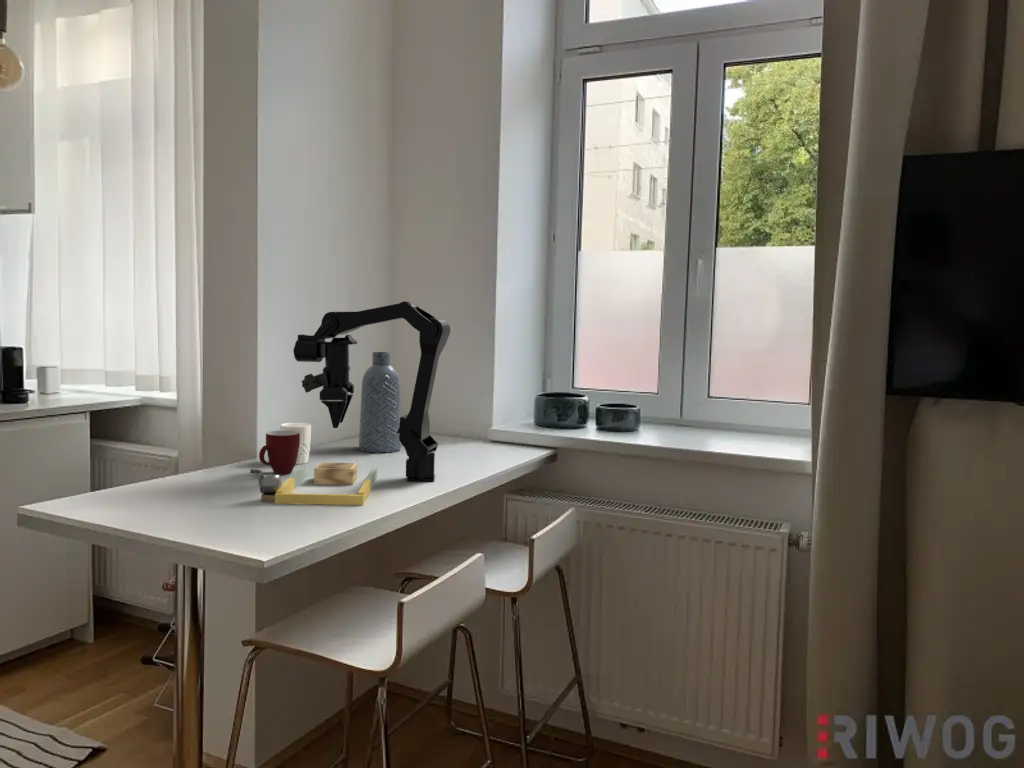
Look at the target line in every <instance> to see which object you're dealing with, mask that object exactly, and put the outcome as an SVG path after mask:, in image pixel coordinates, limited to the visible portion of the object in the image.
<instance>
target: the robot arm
mask: <svg viewBox="0 0 1024 768" xmlns="http://www.w3.org/2000/svg"><path fill="white" fill-rule="evenodd" d="M401 319H402V320H403V319H404V320H405V321H406V322H407V323H408V324H409V325H410V326H411V327H412V328H414V329H415V330H417V331H418V332H419V342H418V343H419V349H420V358H419V362H418V363H419V364H418V369H417V374H416V378H415V385H414V389H413V394H412V399H411V404H410V409H409V412H408V413H407V414H405V415H401V417H400V426H399V430H398V431H397V434H398V433H399V441H400V442H401V446H403V447H404V449H405V453H406V456H407V457H408V458H406V460H405V477H406V479H407V480H406V481H408V482H409V481H410V482H411V481H412V482H434V481H435V480H436V479H435V478H436V474H435V465H436V463H435V461H436V460H435V459H436V457H435V456H436V453H435V452H436V451H437V449H438V447H439V443H438V442H437V440H436V439H434V438H433V437H434V436H432V435H431V433H430V428H431V427H430V426H431V425H430V423H431V421H430V417H429V409H430V404H431V400H432V394H433V390H434V384H435V381H436V380H435V379H436V376H437V375H436V373H437V369H438V365H439V358H440V356H441V354H442V352H443V350H444V349H445V346H446V344H447V341H448V339H449V337H450V334H451V326H450V324H449V323H448V321H447V320H446V319H444V318H442V317H436V316H434V315H433V314H431V313H429V312H428V311H426V310H424V309H423V308H421V307H419V306H418V305H417V304H415V303H414V302H413V301H405V300H404V301H401V302H399V303H395V304H389V305H383V306H379V307H374V308H369V309H364V310H360V311H359V310H358V311H329V312H326V313H325V314H323V317H322V318H321V323H320V326H319V327H318V329H317V330H316V331H315V332H314V334H313V335H310V334H309V335H308V334H302V333H301V334H297V339H296V341H295V344H294V347H293V356H294V359H295V361H296V362H297V363H298V362H299V363H301V362H302V363H304V362H305V363H321V362H322V361H323V359H324V360H325V361H324V363H325V366H324V367H323V368H322V372H320V373H318V374H316V375H314V374H312V373H309V374H306V375H304V377H303V378H304V379H303V380H301V384H302V385H301V387H302V388H303V389H304V392H305V393H306V394H307V393H310V392H312V391H313V390H315V389H316V390H317V389H318V388H322V389H321V390H320V391H319V401H320V402H321V403H322V404H324V405H325V407H326V408H327V410H328V412H329V416H330V421H331V424H332V428H334V429H338V428H339V426H340V424H342V423H343V421H344V419H345V417H346V414H347V411H348V409H349V406H350V403H351V401H352V399H353V397H354V393H355V385H354V383H352V382H351V381H350V371H351V366H350V345H357V344H358V341H357V340H356V339H355V338H353V336H352V335H351V334H349V333H351V332H354V331H356V330H359V329H361V328H363V327H366V326H369V325H376V324H380V323H386V322H390V321H391V322H392V321H396V320H401ZM342 335H345V336H344V337H337V336H342ZM327 339H331V341H326V340H327Z"/></svg>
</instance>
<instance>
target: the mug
mask: <svg viewBox="0 0 1024 768" xmlns="http://www.w3.org/2000/svg"><path fill="white" fill-rule="evenodd" d="M299 445H300V433H299V432H297V431H286V430H283V431H281V430H270V431H267V432H266V433H265V445H263V446H262V447H261V448H260V450H259V455H258V457H259V460H260V463H261V464H263V465H264V466H265V465H266V466H270V467H271V469H272V471H273V473H274V475H289V474H291V473H292V472H293V471H294V468H295V466H296V465H297V464H296V461H297V456H298V451H299ZM266 452H267V459H268V462H267V461H266V459H265V454H266Z"/></svg>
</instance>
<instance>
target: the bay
mask: <svg viewBox="0 0 1024 768" xmlns="http://www.w3.org/2000/svg"><path fill="white" fill-rule="evenodd" d="M306 477H307V465H300V466H299V468H297V470H296V471H294V473H292V475H290V477H288V478H287V479H286V480H285V481H284V482H283V483H282V484H281V487H280V488H279V489H278V490H277V491H276V494H275V502H274V504H276V505H282V504H283V505H285V504H286V505H338V506H339V505H340V506H343V505H345V506H346V505H348V506H364V504H365V502H366V500H367V498H368V496H369V494H370V493H371V490H372V489H373V487H374V484H375V483H376V480H377V479H378V466H375V467H374V466H373V467H371V469H370V471H369V473H368V475H367V476H366V478H365V479H364V481H363V482H362V485H360V486H361V487H360V488H359V490H358V492H357V494H351V493H350V494H342V493H341V494H340V493H293V491H294V490H295V489H296V488H297V487H298V486H299V485H300V483H301V482H302V481H303V480H304V479H305V478H306Z"/></svg>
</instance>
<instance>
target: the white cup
mask: <svg viewBox="0 0 1024 768" xmlns="http://www.w3.org/2000/svg"><path fill="white" fill-rule="evenodd" d="M279 427H280V429H279V431H283V430H286V431H297V432H299V433H300V445H299V451H298V456H297V461H296V464H295V465H304V464H307V463H309V461H310V450H311V439H312V438H311V436H312V435H311V434H312V424H311V423H308V422H285V423H281V424H280V426H279Z"/></svg>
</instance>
